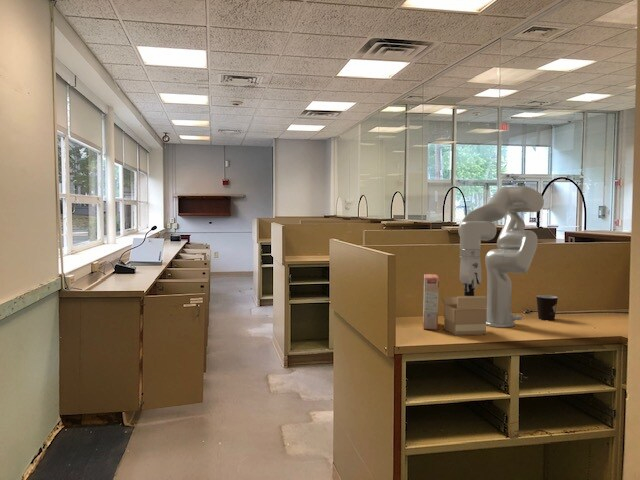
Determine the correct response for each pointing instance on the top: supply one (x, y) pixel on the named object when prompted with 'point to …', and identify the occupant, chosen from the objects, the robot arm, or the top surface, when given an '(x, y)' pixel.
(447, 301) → the far flap
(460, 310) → the carton
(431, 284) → the cracker box
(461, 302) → the near flap
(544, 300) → the coffee mug
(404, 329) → the top surface
